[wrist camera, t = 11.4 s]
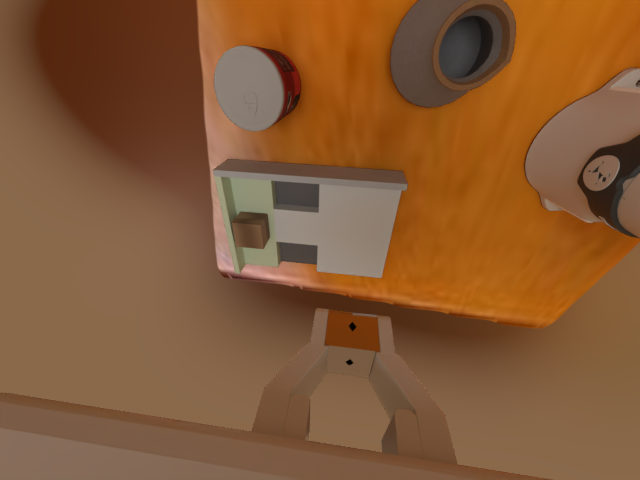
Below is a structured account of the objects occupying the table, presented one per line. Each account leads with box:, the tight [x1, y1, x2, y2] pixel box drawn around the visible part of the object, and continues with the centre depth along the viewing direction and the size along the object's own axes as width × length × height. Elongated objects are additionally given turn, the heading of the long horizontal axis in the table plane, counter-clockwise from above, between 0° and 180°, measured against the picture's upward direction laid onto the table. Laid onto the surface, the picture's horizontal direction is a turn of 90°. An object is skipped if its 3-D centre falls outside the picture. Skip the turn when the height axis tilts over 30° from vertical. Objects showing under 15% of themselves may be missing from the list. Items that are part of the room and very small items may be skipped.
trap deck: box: [213, 159, 408, 278], centre depth 46 cm, size 29×21×6 cm
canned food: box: [214, 45, 301, 131], centre depth 31 cm, size 8×8×11 cm
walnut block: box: [232, 211, 270, 249], centre depth 45 cm, size 5×5×4 cm
